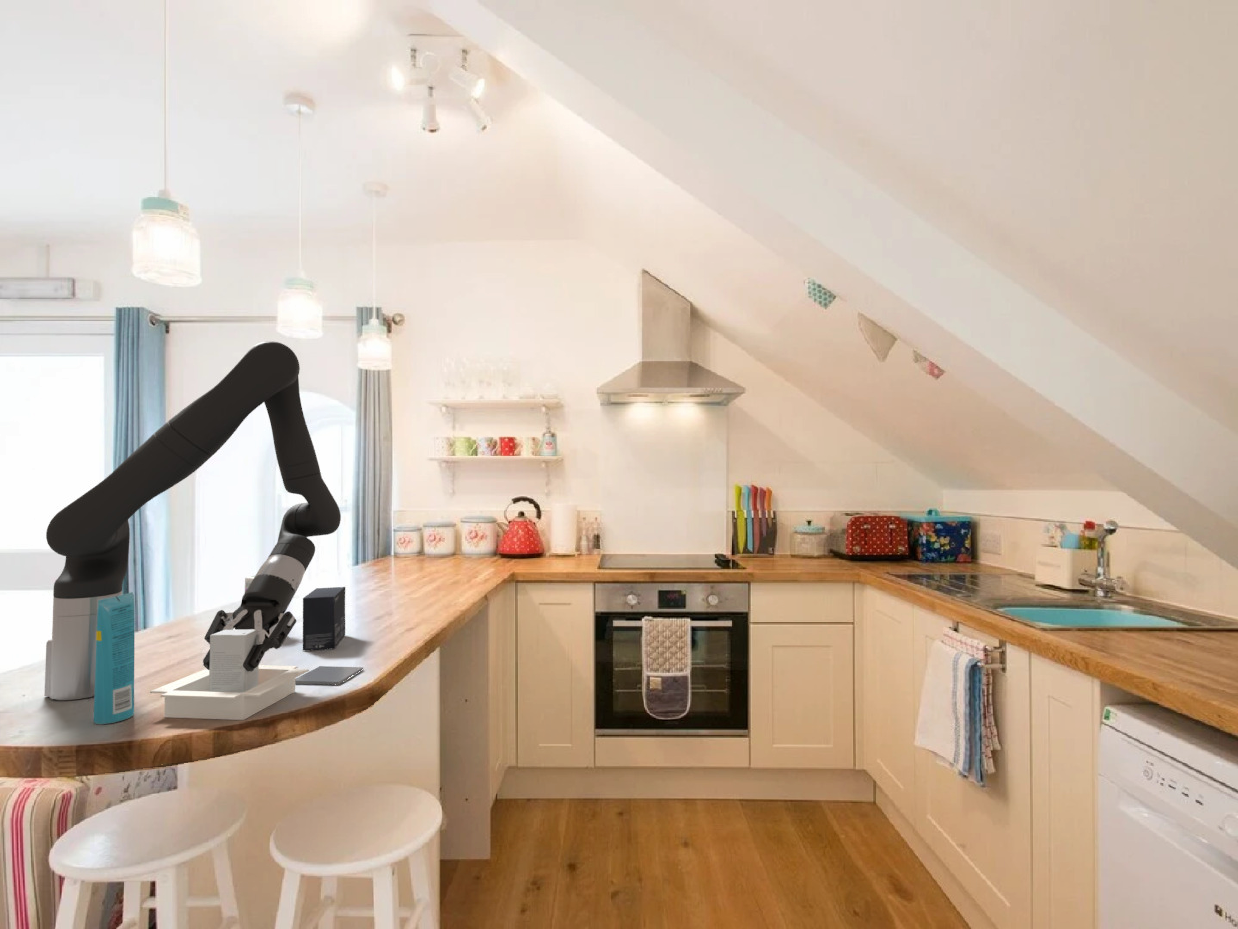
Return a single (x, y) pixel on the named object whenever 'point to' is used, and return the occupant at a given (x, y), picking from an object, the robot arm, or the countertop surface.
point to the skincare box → (231, 661)
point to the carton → (227, 695)
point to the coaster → (327, 675)
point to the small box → (323, 618)
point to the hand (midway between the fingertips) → (227, 668)
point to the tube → (114, 660)
